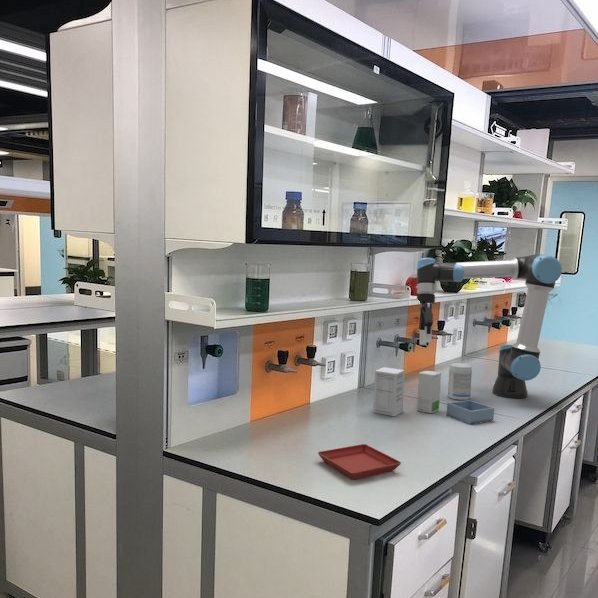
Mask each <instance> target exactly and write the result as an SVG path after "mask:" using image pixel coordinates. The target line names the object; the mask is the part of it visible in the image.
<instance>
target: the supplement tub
mask: <svg viewBox="0 0 598 598" xmlns="http://www.w3.org/2000/svg"><path fill="white" fill-rule="evenodd" d="M472 368H473V367H472V365H470V364H468V363H463V362H461V363H460V362H454V363H450V364H449V368H448V369H449V370H448V382H447V383H448V386H447V397H448V398H450V399H453V400H456V401H457V400H458V401H466V400H470V399H471V389H472V372H473V371H472Z"/></svg>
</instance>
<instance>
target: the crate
mask: <svg viewBox="0 0 598 598" xmlns="http://www.w3.org/2000/svg"><path fill="white" fill-rule="evenodd" d="M494 415H495V408H494V407H492V406H490V405H486V404H483V403H480V402H477V401H474V400H472V399H468V400H458V401H452V402H447V404H446V416H447V417H449V416H450V417H449V418H452V419H454V420H458V421H461V422H463V423H465V424H468V425H476V424H475V423H477V424H481V423H480V422H483V423H487V422H486V421H489V422H493V421H494ZM492 420H493V421H492Z"/></svg>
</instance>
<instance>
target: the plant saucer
mask: <svg viewBox="0 0 598 598" xmlns="http://www.w3.org/2000/svg"><path fill="white" fill-rule="evenodd" d="M317 454H318V456H319V457H320V458H321V460H322V461H323V462H324V463H325V464H327V465H328V466H330V467H332V468H334V469H335V470H336V471H338V472H340V473H341V474H343V475H345V476H346V477H347V478H349V479H351V480H359V479H363V478H367V477H368V478H369V477H372V476H377V475H382V474H386V473H391V472H394V471H395V470H396V469H398V467H400V466H401V464H402V462H401V461H400V460H397V459H396V458H394V457H392V456H390V455H388V454H385V453H384V452H382V451H379V450H378V449H376V448H374V447H373V446H370V445H368V444H366V443H365V444H364V443H363V444H356V445H351V446H345V447H339V448H334V449H329V450H323V451H318V452H317Z"/></svg>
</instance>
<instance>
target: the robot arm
mask: <svg viewBox="0 0 598 598" xmlns="http://www.w3.org/2000/svg"><path fill="white" fill-rule="evenodd" d="M562 269H563V268H562V264H561V263H560V261H559V259H557V258H556V257H555V256H552V255H549V254H530V255H526V256H517V257H515V256H514V257H513V258H511V259H504V260H503V259H502V260H501V259H500V260H485V261H484V260H483V261H482V260H479V261H478V260H477V261H464V262H462V261H461V262H458V261H457V262H440V263H436V259H435V258H433V257H421V258H420V259H418V260H417V269H416V271H417V272H416V273H417V274H416V279H417V281H416V282H417V284H416V286H415V289H417V290H416V293H417V295H416V300H417V299H418V300H419V301H420V305H421V307H420V309H419V310H420V311H419V313H420V314H419V322H418V323H419V324H418V329H419V345H420V346H426V345H427V343H433V341H432V339H433V336H432V335H433V325H434V319H433V309H432V308H433V307H432V306H433V304H435V302H436V295H435V294H436V282H452V283H453V282H454V283H456V282H459V283H461V282H462V281H463V280H465V279H487V278H488V279H489V278H493V279H494V278H513V279H515V280H518V279H519V280H520V279H521V280H525V283H524V285H525V286H526V288H527V292H526V296H525V301H524V305H523V310H522V313H521V314H522V315H521V320H520V325H519V328H518V334H517V338H516V341H515V343H513V344H503V343H502V344H501V345H500V347H499V351H498V353H499V355H498V366H497V367H498V368H497V369H498V370H497V377H496V380H495V382H494V384H493V386H492V391H491V392H492V393H493V394H494V395H496V396H500V397H502V396H503V398H509V399H510V398H511V399H525V398H528V391H529V390H527V385H526V381H531V380H533V379H535V378H536V377H538V375H539V374H540V372H541V368H542V367H541V362H540V360H539V359H540V356H541V355H540V354H541V350H540V348H539V347H538V346H539V341H540V336H541V331H542V327H543V323H544V317H545V313H546V308H547V305H548V304H547V303H548V300H549V299H548V298H549V294H550V292H551V291H553V290H554V289H555V286H556V285H555V284H556V281H558V280H559V279H560V278H561V276H562V271H563V270H562Z"/></svg>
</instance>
